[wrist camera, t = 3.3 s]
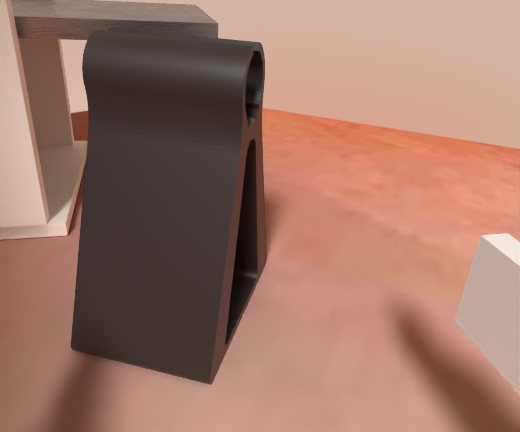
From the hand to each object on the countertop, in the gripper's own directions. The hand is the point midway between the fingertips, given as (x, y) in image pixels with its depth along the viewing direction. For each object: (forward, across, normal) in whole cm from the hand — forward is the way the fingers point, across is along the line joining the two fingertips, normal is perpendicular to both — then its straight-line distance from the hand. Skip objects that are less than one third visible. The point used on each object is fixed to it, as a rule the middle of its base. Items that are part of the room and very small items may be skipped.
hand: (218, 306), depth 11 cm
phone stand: (+10, 0, -8) cm, 12 cm away
